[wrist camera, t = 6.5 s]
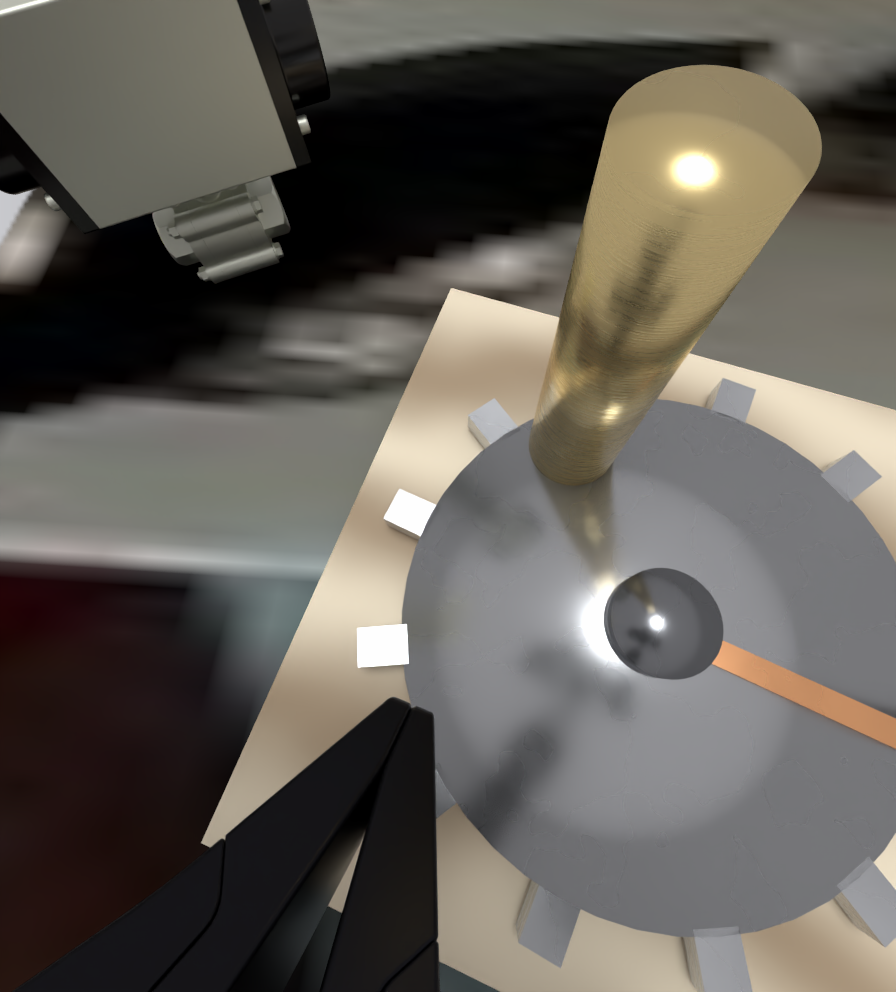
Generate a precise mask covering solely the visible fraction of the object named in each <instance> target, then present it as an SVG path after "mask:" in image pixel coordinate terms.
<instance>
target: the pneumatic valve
mask: <svg viewBox="0 0 896 992" xmlns="http://www.w3.org/2000/svg"><path fill="white" fill-rule="evenodd" d="M329 98H330V87H329V81H328V76H327V72H326V67H325V63H324V59H323V55H322V51H321V47H320V43H319V39H318V36H317V32H316V28H315V25H314V21H313V18H312V14H311V11H310V7H309V4H308V1H307V0H0V190H1V191H3V192H5V193H8V194H15V195H16V194H20V193H23V192H26V191H30V190H33V189H36V188H40V187H42V188H43V189H44V190H45V191H46V192H47V193H45V194H44V198H45V200H46V202H47V204H48V205H49V206H50V207H51V208H52V209H53V210H54V211H59V210H63V211H64V212H65V213H66V214H67V215H68V217H69V218H70V219H71V220H72V221H73V222H74V223H75V224H76V225H77V226H78V228H79V229H80V230H81V231H82V232H83V233H84V234H86V233H89V232H93V231H96V230H99V229H102V228H105V227H109V226H112V225H115V224H118V223H121V222H125V221H128V220H131V219H134V218H137V217H141V216H144V215H147V214H150V213H153V220H154V223H155V226H156V229H157V231H158V233H159V236H160V238H161V240H162V242H163V243H164V245H165V247H166V249H167V250H168V252H169V253H170V255H171V256H172V257H173V259H174V260H175V261H176V262H177V263H178V264H181V265H185V266H188V265H191V264H194V263H197V262H201V263H202V264H203V266H202V267H199V272H197V274H198V276H199V278H200V279H203V280H204V281H205V282H207V281H210V280H211V281H213V282H214V283H215V284H216V283H219V282H222V281H225V280H228V279H231V278H234V277H237V276H240V275H243V274H246V273H249V272H253V271H256V270H259V269H262V268H265V267H268V266H271V265H274V264H277V263H279V259H280V258H281V257H284V254H283V251H282V248H281V246H280V244H279V243H278V242H277V243H273V242H272V238H275V237H278V236H281V235H284V234H287V233H289V231H290V229H291V228H290V225H289V222H288V219H287V216H286V214H285V211H284V208H283V206H282V203H281V201H280V198H279V196H278V193H277V191H276V188H275V186H274V183H273V181H272V179H271V177H270V176H272V175H275V174H278V173H281V172H284V171H288V170H291V169H294V168H296V167H300V166H304V165H307V164H310V163H311V160H310V157H309V154H308V151H307V148H306V145H305V142H304V139H303V136H302V135H305V134H308V133H310V132H311V130H310V127H309V124H308V121H307V118H306V116H305V115H304V114H303V115H300V116H297V117H296V114H295V111H294V110H296V109H299V108H302V107H306V106H309V105H312V104H315V103H319V102H322V101H325V100H328V99H329ZM292 156H293V157H292ZM293 159H294V160H293ZM295 164H296V165H295Z"/></svg>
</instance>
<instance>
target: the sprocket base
mask: <svg viewBox="0 0 896 992" xmlns="http://www.w3.org/2000/svg"><path fill="white" fill-rule="evenodd" d="M558 321H559V318H558V317H555V316H551V315H548V314H544V313H540V312H537V311H533V310H529V309H526V308H522V307H518V306H515V305H511V304H508V303H504V302H500V301H497V300H493V299H489V298H486V297H482V296H478V295H475V294H471V293H468V292H464V291H460V290H457V289H453V288H451V290H450V292H449V294H448V297H447V299H446V301H445V303H444V305H443V308H442V310H441V312H440V314H439V317H438V319H437V321H436V323H435V325H434V328H433V330H432V332H431V334H430V336H429V339H428V341H427V343H426V345H425V348H424V350H423V352H422V354H421V356H420V359H419V361H418V363H417V365H416V368H415V370H414V372H413V374H412V376H411V379H410V381H409V383H408V385H407V387H406V390H405V392H404V394H403V396H402V399H401V401H400V403H399V405H398V407H397V410H396V412H395V414H394V416H393V419H392V421H391V423H390V425H389V427H388V430H387V432H386V434H385V436H384V438H383V441H382V443H381V445H380V447H379V450H378V452H377V454H376V456H375V458H374V461H373V463H372V465H371V467H370V470H369V472H368V474H367V476H366V478H365V481H364V483H363V485H362V487H361V489H360V492H359V494H358V496H357V498H356V501H355V503H354V505H353V507H352V509H351V512H350V514H349V516H348V518H347V521H346V523H345V525H344V527H343V529H342V532H341V534H340V536H339V538H338V540H337V543H336V545H335V547H334V549H333V552H332V554H331V556H330V558H329V560H328V563H327V565H326V567H325V569H324V572H323V574H322V576H321V578H320V580H319V583H318V585H317V587H316V589H315V591H314V594H313V596H312V598H311V600H310V603H309V605H308V607H307V609H306V611H305V614H304V616H303V618H302V620H301V623H300V625H299V627H298V629H297V631H296V634H295V636H294V638H293V640H292V642H291V645H290V647H289V649H288V651H287V654H286V656H285V658H284V660H283V662H282V665H281V667H280V669H279V671H278V674H277V676H276V678H275V680H274V682H273V685H272V687H271V689H270V691H269V693H268V696H267V698H266V700H265V702H264V705H263V707H262V709H261V711H260V713H259V716H258V718H257V720H256V722H255V725H254V727H253V729H252V731H251V733H250V736H249V738H248V740H247V742H246V744H245V747H244V749H243V751H242V753H241V756H240V758H239V760H238V762H237V764H236V767H235V769H234V771H233V773H232V776H231V778H230V780H229V782H228V784H227V787H226V789H225V791H224V793H223V795H222V798H221V800H220V802H219V804H218V807H217V809H216V811H215V813H214V815H213V818H212V820H211V822H210V824H209V827H208V829H207V831H206V833H205V835H204V838H203V840H202V842H201V843H202V844H204V845H206V846H208V847H211V846H212V845H214V844H215V843H216V842H217V841H218V840H220V839H222V838H223V839H224V840H225V836H226V834H227V833H228V832H230V831H231V830H232V829H233V828H234V827H235V826H237V825H238V824H239V823H240V822H241V821H243V820H244V819H245V818H246V817H247V816H249V815H250V814H251V813H252V812H253V811H255V810H256V809H257V808H258V807H259V806H261V805H262V804H263V803H264V802H265V801H266V800H268V799H269V798H270V797H271V796H272V795H274V794H275V793H276V792H277V791H278V790H280V789H281V788H282V787H283V786H284V785H286V784H287V783H288V782H289V781H290V780H292V779H293V778H294V777H295V776H296V775H297V774H299V773H300V772H301V771H302V770H303V769H305V768H306V767H307V766H308V765H309V764H311V763H312V762H313V761H314V760H315V759H317V758H318V757H319V756H320V755H321V754H322V753H324V752H325V751H326V750H327V749H328V748H330V747H331V746H332V745H333V744H334V743H336V742H337V741H338V740H339V739H340V738H342V737H343V736H344V735H345V734H346V733H348V732H349V731H350V730H351V729H352V728H353V727H355V726H356V725H357V724H358V723H359V722H361V721H362V720H363V719H364V718H365V717H367V716H368V715H369V714H370V713H371V712H373V711H374V710H375V709H376V708H377V707H379V706H380V705H381V704H382V703H383V702H384V701H386V700H387V699H388V698H390V697H396V698H399V699H401V700H404V701H406V702H409V703H410V704H411V702H410V698H409V694H408V690H407V685H406V681H405V674H404V664H399V665H386V666H373V667H358V648H357V628H365V627H377V626H390V625H402V608H403V601H404V594H405V587H406V581H407V576H408V572H409V569H410V565H411V562H412V558H413V555H414V551H415V548H416V545H417V543H418V541H419V540H417V539H415V538H412V537H410V536H408V535H406V534H404V533H402V532H400V531H397V530H395V529H393V528H391V527H389V526H388V525H387V524H386V522H385V520H384V519H383V518H384V516H385V515H386V513H387V511H388V509H389V507H390V505H391V503H392V501H393V500H394V498H395V496H396V494H397V492H398V490H399V489H401V490H404V491H406V492H408V493H410V494H413V495H415V496H417V497H419V498H421V499H424V500H426V501H428V502H430V503H432V504H435V505H437V503H438V501H439V500H440V498H441V496H442V495H443V493H444V492H445V491H446V490H447V488H448V487H449V486H450V485H451V483H452V482H453V481H454V479H455V478H456V477H457V476H458V474H459V473H460V472H461V471H462V470H463V469H464V468H465V467H466V466H467V465H468V464H469V463H470V462H471V461H472V460H473V459H474V458H475V457H476V456H477V455H478V454H479V453H480V452H481V451H483V450H484V449H485V448H484V447H483V446H482V445H481V443H480V442H479V441H478V439H477V438H476V437H475V436H474V434H473V433H472V432H471V430H470V429H469V428H468V415H469V414H470V413H472V412H473V411H475V410H476V409H478V408H480V407H481V406H483V405H484V404H486V403H487V402H489V401H491V400H492V399H494V398H495V399H496V401H497V402H498V403H499V404H500V405H501V407H502V408H503V409H504V410H505V412H506V413H507V414H508V415H509V416H510V418H511V419H512V420H513V421H514V423H515V424H516V425H517V426H520V425H522V424H524V423H526V422H527V421H529V420H532V419H534V417H535V413H536V409H537V405H538V401H539V397H540V393H541V389H542V385H543V381H544V377H545V373H546V369H547V365H548V361H549V357H550V353H551V349H552V345H553V341H554V337H555V333H556V329H557V325H558ZM722 378H725V379H728V380H731V381H734V382H736V383H739V384H742V385H745V386H747V387H750V388H753V389H756V392H755V395H754V398H753V401H752V404H751V407H750V410H749V413H748V416H747V419H746V422H745V423H748V424H750V425H752V426H755V427H757V428H759V429H761V430H762V431H764V432H766V433H768V434H769V435H771V436H773V437H775V438H776V439H778V440H780V441H782V442H784V443H785V444H787V445H788V446H790V447H791V448H792V449H794V450H795V451H797V452H798V453H800V454H801V455H802V456H804V457H805V458H807V459H808V460H809V461H811V462H812V463H813V464H815V465H816V466H817V467H818V468H819V469H820V470H823V469H824V468H825V467H827V466H828V465H829V464H831V463H832V462H833V461H835V460H837V459H839V458H840V457H842V456H844V455H846V454H848V453H849V452H851V451H853V450H855V451H856V452H857V453H858V454H859V455H860V456H861V457H862V458H863V459H864V460H865V461H866V462H867V463H868V464H869V465H870V466H871V467H873V468H874V469H875V470H876V471H877V472H878V473H879V474H880V475H881V476H882V477H881V478H880V479H879V480H877V481H876V482H875V483H874V484H872V485H871V486H870V487H868V488H867V489H866V490H864V491H863V492H862V493H860V494H859V495H858V496H857V497H855V498H854V499H853V500H852V501H853V502H854V503H855V504H856V505H857V506H858V508H859V509H860V510H861V511H862V512H863V513H864V515H865V516H866V518H867V519H868V520H869V522H870V523H871V524H872V526H873V527H874V528H875V530H876V531H877V533H878V534H879V535H880V537H881V538H882V539H883V541H884V543H885V544H886V546H887V548H888V550H889V551H890V553H891V555H892V557H893V558H894V560H895V562H896V410H893V409H889V408H886V407H882V406H878V405H875V404H871V403H868V402H864V401H860V400H857V399H853V398H849V397H846V396H842V395H838V394H835V393H831V392H828V391H824V390H820V389H817V388H813V387H809V386H806V385H802V384H798V383H795V382H791V381H788V380H784V379H780V378H777V377H773V376H769V375H766V374H762V373H758V372H755V371H751V370H748V369H744V368H740V367H737V366H733V365H729V364H726V363H722V362H718V361H715V360H711V359H708V358H704V357H700V356H697V355H693V354H688V355H687V357H686V358H685V360H684V361H683V362H682V364H681V365H680V367H679V368H678V370H677V371H676V372H675V374H674V375H673V377H672V378H671V380H670V381H669V382H668V384H667V385H666V387H665V388H664V390H663V391H662V392H661V394H660V395H659V397H658V398H657V399H661V400H671V401H676V402H681V403H686V404H691V405H696V406H701V407H704V408H705V406H706V403H707V401H708V398H709V395H710V393H711V391H712V390H713V389H714V388H715V386H716V385H717V384H718V383H719V382H720V381H721V380H722ZM436 829H437V886H438V939H437V942H438V944H439V961H440V962H442V963H444V964H446V965H448V966H450V967H452V968H454V969H456V970H458V971H460V972H462V973H464V974H466V975H468V976H470V977H472V978H474V979H476V980H478V981H480V982H482V983H484V984H486V985H488V986H490V987H492V988H494V989H496V990H498V991H500V992H697V990H696V989H695V988H694V986H693V985H692V983H691V979H690V974H689V968H688V963H687V957H686V951H685V946H684V940H683V937H676V936H670V935H664V934H658V933H652V932H646V931H640V930H635V929H632V928H629V927H626V926H623V925H620V924H617V923H614V922H611V921H608V920H605V919H602V918H599V917H596V916H594V915H592V914H590V913H588V912H586V911H584V910H582V909H581V910H580V913H579V916H578V919H577V922H576V925H575V928H574V931H573V934H572V937H571V940H570V942H569V945H568V948H567V951H566V954H565V957H564V960H563V963H562V966H561V968H559V967H557V966H556V965H554V964H552V963H551V962H549V961H548V960H546V959H544V958H543V957H541V956H539V955H538V954H536V953H534V952H533V951H531V950H529V949H528V948H526V947H524V946H523V945H521V944H519V943H518V938H517V932H516V926H515V923H516V921H517V918H518V915H519V913H520V910H521V907H522V904H523V902H524V899H525V896H526V894H527V891H528V888H529V885H530V883H531V879H529V878H528V877H526V876H525V875H524V874H523V873H521V872H520V871H519V870H518V869H517V868H516V867H515V866H514V865H512V864H511V863H510V862H509V861H508V860H507V859H506V858H504V857H503V856H502V855H501V854H500V853H499V852H498V851H496V850H495V849H494V848H493V847H492V846H491V845H490V843H489V842H488V841H487V840H486V839H485V838H484V837H483V835H482V834H481V833H480V832H479V831H478V830H477V829H476V827H475V826H474V825H473V824H472V823H471V822H470V821H469V820H468V818H467V817H466V816H465V814H464V813H463V811H462V810H461V808H460V807H459V806H458V804H457V803H456V804H455V805H454V806H452V807H451V808H450V809H448V810H447V811H446V812H445V813H443V814H442V815H441V816H439V817H438V818H437V819H436ZM362 841H363V839H362ZM362 841H361V843H360V845H359V847H358V849H357V851H356V853H355V855H354V857H353V859H352V861H351V863H350V865H349V866H348V868H347V870H346V872H345V874H344V876H343V878H342V880H341V882H340V884H339V886H338V887H337V889H336V891H335V893H334V895H333V897H332V899H331V901H330V903H329V905H328V906H329V907H331V908H333V909H335V910H337V911H339V912H341V913H342V911H343V908H344V904H345V901H346V897H347V894H348V890H349V887H350V883H351V880H352V876H353V873H354V869H355V866H356V862H357V859H358V855H359V852H360V848H361V844H362ZM873 863H874V864H875V865H876V866H877V867H878V869H879V870H880V871H881V872H882V874H883V875H884V876H885V877H886V879H887V880H888V881H889V882H890V883H891V885H892V886H893V887H894V888H895V890H896V833H895V835H894V836H893V838H892V839H891V841H890V842H889V844H888V846H887V847H886V849H885V850H884V851H883V853H882V854H881V855H880V856H879V857H878V858H877V859H876V860H875V861H874V862H873ZM741 939H742V944H743V948H744V953H745V958H746V962H747V967H748V972H749V977H750V981H751V986H752V991H753V992H896V938H895V939H894V940H893V941H892V942H891V943H890V944H889V945H888V946H887V947H886V948H885V947H884V946H882V945H881V944H879V943H878V942H876V941H875V940H874V939H872V938H871V937H869V936H868V935H866V934H865V933H863V932H862V931H861V930H859V929H858V928H857V927H856V926H855V925H854V923H853V922H852V921H851V920H850V918H849V917H848V916H847V914H846V913H845V912H844V911H843V909H842V908H841V907H840V905H839V904H838V903H837V902H836V900H835V899H834V898H833V899H831V900H830V901H829V902H827V903H825V904H823V905H821V906H819V907H817V908H816V909H814V910H812V911H810V912H808V913H806V914H804V915H802V916H800V917H798V918H797V919H795V920H792V921H788V922H785V923H782V924H779V925H776V926H773V927H770V928H767V929H764V930H761V931H757V932H751V933H744V934H741Z"/></svg>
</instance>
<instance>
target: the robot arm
mask: <svg viewBox="0 0 896 992" xmlns="http://www.w3.org/2000/svg"><path fill="white" fill-rule="evenodd" d="M362 839H363V841H362ZM361 841H362V844H361V848H360V852H359V855H358V859H357V862H356V866H355V869H354V873H353V876H352V880H351V883H350V887H349V890H348V894H347V897H346V901H345V904H344V908H343V911H342V915H341V918H340V922H339V925H338V929H337V932H336V936H335V939H334V943H333V946H332V950H331V953H330V957H329V960H328V964H327V967H326V971H325V974H324V978H323V981H322V985H321V988H320V992H440V979H439V944H438V942H437V939H438V886H437V829H436V773H435V718H434V714H433V713H432V712H431V711H428V710H426V709H423V708H421V707H418V706H413V707H412V706H411V704H410V703H409V702H406V701H404V700H401V699H399V698H396V697H390V698H388V699H387V700H386V701H384V702H383V703H382V704H381V705H380V706H379V707H377V708H376V709H375V710H374V711H373V712H371V713H370V714H369V715H368V716H367V717H365V718H364V719H363V720H362V721H361V722H359V723H358V724H357V725H356V726H355V727H353V728H352V729H351V730H350V731H349V732H348V733H346V734H345V735H344V736H343V737H342V738H340V739H339V740H338V741H337V742H336V743H334V744H333V745H332V746H331V747H330V748H328V749H327V750H326V751H325V752H324V753H322V754H321V755H320V756H319V757H318V758H317V759H315V760H314V761H313V762H312V763H311V764H309V765H308V766H307V767H306V768H305V769H303V770H302V771H301V772H300V773H299V774H297V775H296V776H295V777H294V778H293V779H292V780H290V781H289V782H288V783H287V784H286V785H284V786H283V787H282V788H281V789H280V790H278V791H277V792H276V793H275V794H274V795H272V796H271V797H270V798H269V799H268V800H266V801H265V802H264V803H263V804H262V805H261V806H259V807H258V808H257V809H256V810H255V811H253V812H252V813H251V814H250V815H249V816H247V817H246V818H245V819H244V820H243V821H241V822H240V823H239V824H238V825H237V826H235V827H234V828H233V829H232V830H231V831H230V832H228V833H227V834H226V836H225V840H224V839H223V838H222V839H220V840H218V841H217V842H216V843H215V844H214V845H212V846H211V847H210V848H209V849H208V850H207V851H205V852H204V853H203V854H202V855H201V856H199V857H198V858H197V859H196V860H194V861H193V862H192V863H191V864H189V865H188V866H187V867H186V868H184V869H183V870H182V871H181V872H179V873H178V874H177V875H176V876H174V877H173V878H172V879H171V880H169V881H168V882H167V883H166V884H164V885H163V886H162V887H160V888H159V889H158V890H156V891H155V892H154V893H152V894H151V895H149V896H148V897H147V898H145V899H144V900H142V901H141V902H140V903H138V904H137V905H136V906H134V907H133V908H131V909H130V910H129V911H127V912H126V913H125V914H123V915H122V916H120V917H119V918H118V919H116V920H115V921H113V922H112V923H110V924H109V925H107V926H106V927H104V928H103V929H102V930H100V931H99V932H97V933H96V934H94V935H93V936H91V937H90V938H89V939H87V940H86V941H84V942H83V943H81V944H80V945H78V946H77V947H76V948H74V949H73V950H71V951H70V952H68V953H67V954H65V955H64V956H63V957H61V958H60V959H58V960H57V961H55V962H54V963H52V964H51V965H50V966H48V967H47V968H45V969H44V970H42V971H41V972H39V973H38V974H37V975H35V976H34V977H32V978H31V979H29V980H28V981H26V982H25V983H23V984H22V985H21V986H19V987H18V988H16V989H15V990H13V991H12V992H283V990H284V989H285V987H286V985H287V983H288V981H289V979H290V977H291V975H292V973H293V971H294V969H295V968H296V966H297V964H298V962H299V960H300V958H301V956H302V954H303V952H304V950H305V948H306V947H307V945H308V943H309V941H310V939H311V937H312V935H313V933H314V931H315V929H316V927H317V926H318V924H319V922H320V920H321V918H322V916H323V914H324V912H325V910H326V908H327V907H328V905H329V903H330V901H331V899H332V897H333V895H334V893H335V891H336V889H337V887H338V886H339V884H340V882H341V880H342V878H343V876H344V874H345V872H346V870H347V868H348V866H349V865H350V863H351V861H352V859H353V857H354V855H355V853H356V851H357V849H358V847H359V845H360V843H361Z"/></svg>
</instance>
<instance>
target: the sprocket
mask: <svg viewBox="0 0 896 992" xmlns="http://www.w3.org/2000/svg"><path fill="white" fill-rule="evenodd" d="M821 149H822V143H821V136H820V132H819V129H818V126H817V124H816V122H815V120H814V118H813V116H812V115H811V113H810V112H809V111H808V109H807V108H806V107H805V106H804V105H803V104H802V103H801V101H800V100H799V99H798V98H796V97H795V96H794V95H793V94H792V93H790V92H789V91H788V90H786V89H785V88H783V87H782V86H780V85H778V84H777V83H775V82H773V81H771V80H769V79H767V78H765V77H762V76H760V75H757V74H755V73H751V72H748V71H744V70H741V69H736V68H731V67H725V66H716V65H694V66H684V67H677V68H673V69H669V70H665V71H662V72H659V73H656V74H654V75H651V76H649V77H647V78H645V79H643V80H642V81H640V82H638V83H637V84H635V85H634V86H633V87H631V88H630V89H629V90H628V91H627V92H625V94H624V95H623V96H622V97H621V98H620V99H619V100H618V102H617V104H616V105H615V107H614V108H613V111H612V113H611V115H610V118H609V122H608V126H607V130H606V134H605V138H604V142H603V146H602V150H601V154H600V158H599V162H598V166H597V170H596V174H595V178H594V182H593V186H592V190H591V194H590V198H589V202H588V206H587V210H586V214H585V218H584V222H583V226H582V230H581V234H580V238H579V242H578V246H577V250H576V254H575V257H574V261H573V265H572V269H571V273H570V277H569V281H568V285H567V289H566V293H565V297H564V301H563V305H562V309H561V313H560V317H559V321H558V325H557V329H556V333H555V337H554V341H553V345H552V349H551V353H550V357H549V361H548V365H547V369H546V373H545V377H544V381H543V385H542V389H541V393H540V397H539V401H538V405H537V409H536V413H535V417H534V419H532V420H529V421H527V422H526V423H524V424H522V425H520V426H517V425H516V424H515V423H514V421H513V420H512V419H511V418H510V416H509V415H508V414H507V413H506V412H505V410H504V409H503V408H502V407H501V405H500V404H499V403H498V402H497V401H496V399H495V398H494V399H492V400H491V401H489V402H487V403H486V404H484V405H483V406H481V407H480V408H478V409H476V410H475V411H473V412H472V413H470V414H469V415H468V428H469V429H470V430H471V432H472V433H473V434H474V436H475V437H476V438H477V439H478V441H479V442H480V443H481V445H482V446H483V447H484V448H485V449H484V450H483V451H481V452H480V453H479V454H478V455H477V456H476V457H475V458H474V459H473V460H472V461H471V462H470V463H469V464H468V465H467V466H466V467H465V468H464V469H463V470H462V471H461V472H460V473H459V474H458V476H457V477H456V478H455V479H454V481H453V482H452V483H451V485H450V486H449V487H448V488H447V490H446V491H445V492H444V493H443V495H442V496H441V498H440V500H439V501H438V503H437V505H435V504H432V503H430V502H428V501H426V500H424V499H421V498H419V497H417V496H415V495H413V494H410V493H408V492H406V491H404V490H401V489H399V490H398V492H397V494H396V496H395V498H394V500H393V501H392V503H391V505H390V507H389V509H388V511H387V513H386V515H385V516H384V518H383V519H384V520H385V522H386V524H387V525H388V526H389V527H391V528H393V529H395V530H397V531H400V532H402V533H404V534H406V535H408V536H410V537H412V538H415V539H417V540H419V541H418V543H417V545H416V548H415V551H414V555H413V558H412V562H411V565H410V569H409V572H408V576H407V581H406V587H405V594H404V601H403V608H402V625H390V626H377V627H365V628H357V648H358V667H373V666H386V665H399V664H404V674H405V681H406V685H407V690H408V694H409V698H410V702H411V706H412V707H413V706H418V707H421V708H423V709H426V710H428V711H431V712H432V713H433V714H434V718H435V773H436V819H437V818H438V817H439V816H441V815H442V814H443V813H445V812H446V811H447V810H448V809H450V808H451V807H452V806H454V805H455V804H456V803H457V804H458V806H459V807H460V808H461V810H462V811H463V813H464V814H465V816H466V817H467V818H468V820H469V821H470V822H471V823H472V824H473V825H474V826H475V827H476V829H477V830H478V831H479V832H480V833H481V834H482V835H483V837H484V838H485V839H486V840H487V841H488V842H489V843H490V845H491V846H492V847H493V848H494V849H495V850H496V851H498V852H499V853H500V854H501V855H502V856H503V857H504V858H506V859H507V860H508V861H509V862H510V863H511V864H512V865H514V866H515V867H516V868H517V869H518V870H519V871H520V872H521V873H523V874H524V875H525V876H526V877H528V878H529V879H531V883H530V885H529V888H528V891H527V894H526V896H525V899H524V902H523V904H522V907H521V910H520V913H519V915H518V918H517V921H516V923H515V926H516V932H517V938H518V943H519V944H521V945H523V946H524V947H526V948H528V949H529V950H531V951H533V952H534V953H536V954H538V955H539V956H541V957H543V958H544V959H546V960H548V961H549V962H551V963H552V964H554V965H556V966H557V967H559V968H561V966H562V963H563V960H564V957H565V954H566V951H567V948H568V945H569V942H570V940H571V937H572V934H573V931H574V928H575V925H576V922H577V919H578V916H579V913H580V910H581V909H582V910H584V911H586V912H588V913H590V914H592V915H594V916H596V917H599V918H602V919H605V920H608V921H611V922H614V923H617V924H620V925H623V926H626V927H629V928H632V929H635V930H640V931H646V932H652V933H658V934H664V935H670V936H676V937H683V940H684V946H685V951H686V957H687V963H688V968H689V974H690V979H691V983H692V985H693V986H694V988H695V989H696V990H697V992H753V991H752V986H751V981H750V977H749V972H748V967H747V962H746V958H745V953H744V948H743V944H742V939H741V934H744V933H751V932H757V931H761V930H764V929H767V928H770V927H773V926H776V925H779V924H782V923H785V922H788V921H792V920H795V919H797V918H798V917H800V916H802V915H804V914H806V913H808V912H810V911H812V910H814V909H816V908H817V907H819V906H821V905H823V904H825V903H827V902H829V901H830V900H831V899H833V898H834V899H835V900H836V902H837V903H838V904H839V905H840V907H841V908H842V909H843V911H844V912H845V913H846V914H847V916H848V917H849V918H850V920H851V921H852V922H853V923H854V925H855V926H856V927H857V928H858V929H859V930H861V931H862V932H863V933H865V934H866V935H868V936H869V937H871V938H872V939H874V940H875V941H876V942H878V943H879V944H881V945H882V946H884V947H885V948H886V947H887V946H888V945H889V944H890V943H891V942H892V941H893V940H894V939H895V938H896V890H895V888H894V887H893V886H892V885H891V883H890V882H889V881H888V880H887V879H886V877H885V876H884V875H883V874H882V872H881V871H880V870H879V869H878V867H877V866H876V865H875V864H874V863H873V862H874V861H875V860H876V859H877V858H878V857H879V856H880V855H881V854H882V853H883V851H884V850H885V849H886V847H887V846H888V844H889V842H890V841H891V839H892V838H893V836H894V835H895V833H896V562H895V560H894V558H893V557H892V555H891V553H890V551H889V550H888V548H887V546H886V544H885V543H884V541H883V539H882V538H881V537H880V535H879V534H878V533H877V531H876V530H875V528H874V527H873V526H872V524H871V523H870V522H869V520H868V519H867V518H866V516H865V515H864V513H863V512H862V511H861V510H860V509H859V508H858V506H857V505H856V504H855V503H854V502H853V501H852V500H853V499H854V498H855V497H857V496H858V495H859V494H860V493H862V492H863V491H864V490H866V489H867V488H868V487H870V486H871V485H872V484H874V483H875V482H876V481H877V480H879V479H880V478H881V477H882V476H881V475H880V474H879V473H878V472H877V471H876V470H875V469H874V468H873V467H871V466H870V465H869V464H868V463H867V462H866V461H865V460H864V459H863V458H862V457H861V456H860V455H859V454H858V453H857V452H856V451H855V450H853V451H851V452H849V453H848V454H846V455H844V456H842V457H840V458H839V459H837V460H835V461H833V462H832V463H831V464H829V465H828V466H827V467H825V468H824V469H823V470H820V469H819V468H818V467H817V466H816V465H815V464H813V463H812V462H811V461H809V460H808V459H807V458H805V457H804V456H802V455H801V454H800V453H798V452H797V451H795V450H794V449H792V448H791V447H790V446H788V445H787V444H785V443H784V442H782V441H780V440H778V439H776V438H775V437H773V436H771V435H769V434H768V433H766V432H764V431H762V430H761V429H759V428H757V427H755V426H752V425H750V424H748V423H745V422H746V419H747V416H748V413H749V410H750V407H751V404H752V401H753V398H754V395H755V392H756V389H753V388H750V387H747V386H745V385H742V384H739V383H736V382H734V381H731V380H728V379H725V378H722V380H721V381H720V382H719V383H718V384H717V385H716V386H715V388H714V389H713V390H712V391H711V393H710V395H709V398H708V401H707V403H706V406H705V408H704V407H701V406H696V405H691V404H686V403H681V402H676V401H671V400H661V399H657V398H658V397H659V395H660V394H661V392H662V391H663V390H664V388H665V387H666V385H667V384H668V382H669V381H670V380H671V378H672V377H673V375H674V374H675V372H676V371H677V370H678V368H679V367H680V365H681V364H682V362H683V361H684V360H685V358H686V357H687V355H688V354H689V352H690V351H691V350H692V348H693V347H694V345H695V344H696V342H697V341H698V340H699V338H700V337H701V335H702V334H703V332H704V331H705V330H706V328H707V327H708V325H709V324H710V322H711V321H712V320H713V318H714V317H715V315H716V314H717V312H718V311H719V310H720V308H721V307H722V305H723V304H724V302H725V301H726V300H727V298H728V297H729V295H730V294H731V292H732V291H733V290H734V288H735V287H736V285H737V284H738V282H739V281H740V280H741V278H742V277H743V275H744V274H745V272H746V271H747V270H748V268H749V267H750V265H751V264H752V262H753V261H754V260H755V258H756V257H757V255H758V254H759V252H760V251H761V250H762V248H763V247H764V245H765V244H766V242H767V241H768V240H769V238H770V237H771V235H772V234H773V232H774V231H775V230H776V228H777V227H778V225H779V224H780V222H781V221H782V220H783V218H784V217H785V215H786V214H787V212H788V211H789V210H790V208H791V207H792V205H793V204H794V202H795V201H796V200H797V198H798V197H799V195H800V194H801V192H802V191H803V190H804V188H805V187H806V185H807V184H808V182H809V181H810V180H811V178H812V177H813V175H814V174H815V172H816V170H817V167H818V165H819V162H820V158H821Z"/></svg>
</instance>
